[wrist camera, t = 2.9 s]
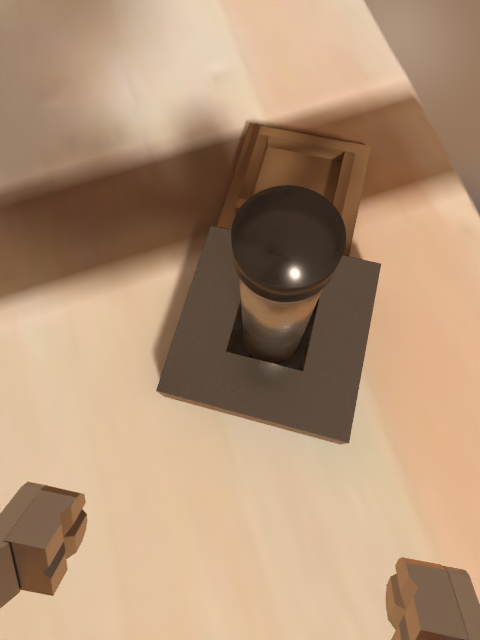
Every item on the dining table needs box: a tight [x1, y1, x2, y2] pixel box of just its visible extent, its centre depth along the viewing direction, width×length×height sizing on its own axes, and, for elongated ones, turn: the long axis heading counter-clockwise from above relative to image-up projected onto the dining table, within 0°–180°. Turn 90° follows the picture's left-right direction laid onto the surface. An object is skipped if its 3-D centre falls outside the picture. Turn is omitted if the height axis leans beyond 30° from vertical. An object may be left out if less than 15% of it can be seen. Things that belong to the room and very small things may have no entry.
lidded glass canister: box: [231, 185, 346, 363], centre depth 22 cm, size 4×4×14 cm
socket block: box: [156, 226, 381, 444], centre depth 28 cm, size 12×12×2 cm
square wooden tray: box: [216, 123, 371, 256], centre depth 32 cm, size 10×10×2 cm
